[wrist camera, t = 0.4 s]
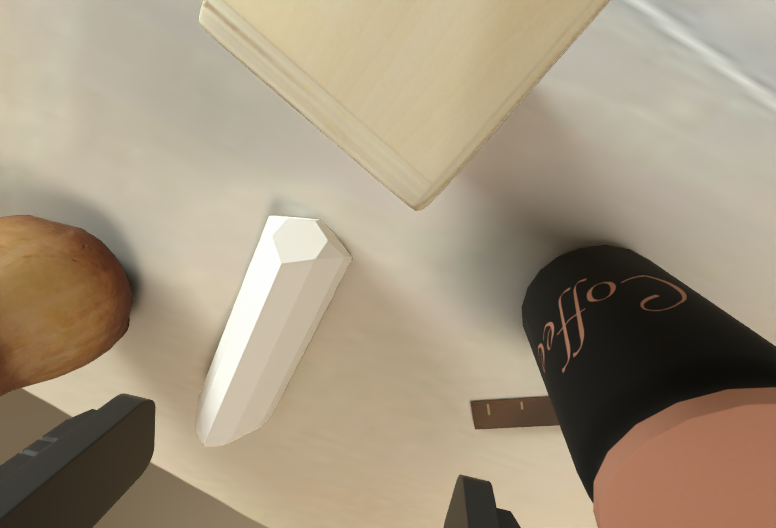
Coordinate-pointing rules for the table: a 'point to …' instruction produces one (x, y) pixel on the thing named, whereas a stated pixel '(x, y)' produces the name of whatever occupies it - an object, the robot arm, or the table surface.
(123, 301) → the butternut squash
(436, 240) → the table surface
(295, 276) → the crystal
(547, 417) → the walnut ruler
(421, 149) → the beige tall block
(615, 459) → the coffee jar
